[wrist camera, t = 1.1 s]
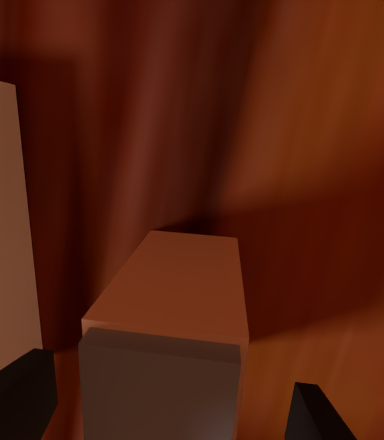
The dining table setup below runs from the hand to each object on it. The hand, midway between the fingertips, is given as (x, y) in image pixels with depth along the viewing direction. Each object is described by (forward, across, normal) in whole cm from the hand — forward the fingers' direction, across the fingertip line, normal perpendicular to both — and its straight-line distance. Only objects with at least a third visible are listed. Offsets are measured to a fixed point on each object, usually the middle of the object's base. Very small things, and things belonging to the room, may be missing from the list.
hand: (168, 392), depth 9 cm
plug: (+6, 0, 0) cm, 6 cm away
